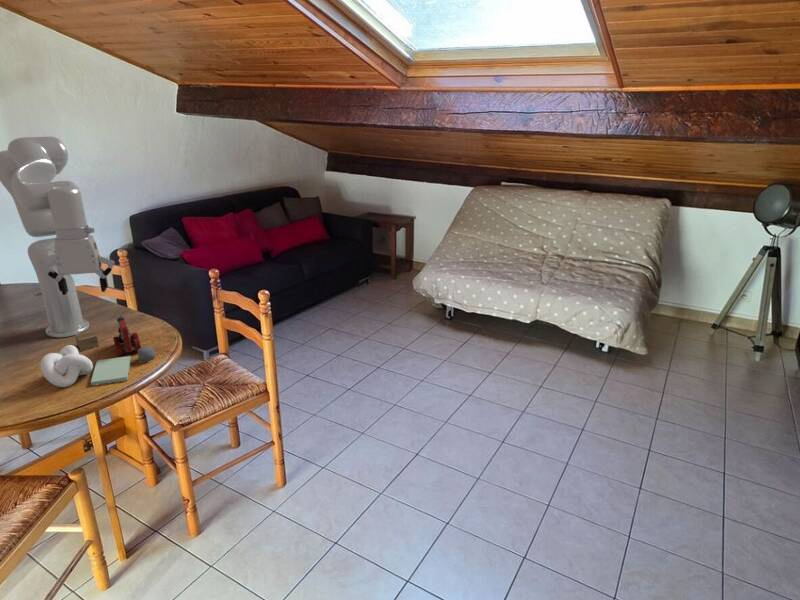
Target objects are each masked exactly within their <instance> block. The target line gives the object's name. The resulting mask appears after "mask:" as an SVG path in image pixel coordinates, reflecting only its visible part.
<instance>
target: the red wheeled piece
mask: <svg viewBox="0 0 800 600" xmlns="http://www.w3.org/2000/svg"><path fill="white" fill-rule="evenodd" d="M116 321H117V323H118V326H119V327H118V330H117V332H118V335H116V336H113V338H112V339H113V342H114V343H113V344H114V349H115V354H116V356H118V357H121V356H122V355H123V351H124V350H125V351H126V353H129V352H133V349H134V350H135V352H136V353H138V349H139V348H141V347H142V345H141V341H140V339H139V335H138V332H132V333H131V332H130V330H129V327H128V326H127V323H126V321H125V318H124V317H123V316H119V317H117V319H116ZM121 344H123V345H124V346H122V345H121Z"/></svg>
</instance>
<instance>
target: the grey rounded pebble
mask: <svg viewBox="0 0 800 600" xmlns="http://www.w3.org/2000/svg"><path fill="white" fill-rule="evenodd" d="M137 355H138V356H137V357H138V361H141V362H148V361H151V360H153V359H154V358H155V359H156V356H155V351H154V347H153V346H150V345H147V346H146V345H145V346H141V348H139V349H138V352H137ZM141 362H140V363H141Z"/></svg>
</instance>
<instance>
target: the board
mask: <svg viewBox="0 0 800 600" xmlns="http://www.w3.org/2000/svg"><path fill="white" fill-rule="evenodd" d="M131 362H132V356H131V355H127V356H118V357H114V358H113V357H112V358H106V359H105V358H104V359H97V361H96V362H95V367H94V370H93V373H92V377H91V378H90V379H91V380H90V386H91V385H95V386H97V385H96V384H101V385H104V384H103V383H108V384H111V383H110V382H115V383H119V382H118V381H122V382H125V381H124V380H127V379H128V380H129V375H128V373H129V374H130V369H131V364H130V363H131ZM129 368H130V369H129ZM128 380H127V381H128Z"/></svg>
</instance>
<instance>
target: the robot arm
mask: <svg viewBox="0 0 800 600" xmlns="http://www.w3.org/2000/svg"><path fill="white" fill-rule="evenodd" d="M68 160H69V153H68V150H67V147H66V146H65V144H64V143H63V141H62V140H60V139H59V138H58V137H56V136H25V137H23V136H22V137H19V138H15V139H12V140H11V141H10V142H9V143H8V145H7V150H6V149H5V150H1V151H0V183H1V184H2V186H3V187H4V188H5V189H6V190H7V192H8V193H9V194H10V196H11V197H12V200H13V201H14V204H15V207H16V211H17V213H18V215H19V218H20V221H21V223H22V226H23V229H24V230H25V232H26V233H27V235H29V236H30V237H33V238H43V237H51V236H56V237H51V238H45V239H40V240H37V241H35V242H32V243H30V244H29V246H28V247H27V254H28V255H27V256H28V259H29V261H30V263H31V265H32V267H33V270H34V272H35V275H36V277H37V281H38V285H39V289H40V292H41V296H42V300H43V304H44V308H45V312H46V316H47V320H48V323H49V325H48V326H47V327H46V328H45V334H46V336H48V337H51V338H66V337H72V336H75V335H76V334H80V333H84V332H86V331H87V330H88V329H89V327H90V322H89V321H88V320H86V319H83V314H82V310H81V306H80V302H79V298H78V293H77V288H76V283H75V280H74V278H73V276H72V275H83V274H85V275H86V274H94V273H95V274H96V275H97V276H98V277H99V280H98V281H99V284H100V289H101V292H102V293H105V292H106V291H107V289H108V288H109V283H108V279H107V276H109V274H110V273H111V272H112V270H113V268H114V266H115V261H114V260H112V259H110V258H106V257H104V256H101V255H100V252H99V248H98V244H97V242H96V240H95V237H94V236H93V235H92V234H93V233H95V228H94V227H90V226H89V225H88V223H87V218H86V214H85V207H84V203H83V197H82V193H81V190H80V187H79V186H78V185H76V183H74V182H73V181H70V180H58V181H53V180H54V179H55V177H56V175H59V174H60V173H61V172H62V171H63V170H64V168H65V167H66V165H67V163H68ZM102 264H105V265H107V267H106V269H103V268H102Z"/></svg>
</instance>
